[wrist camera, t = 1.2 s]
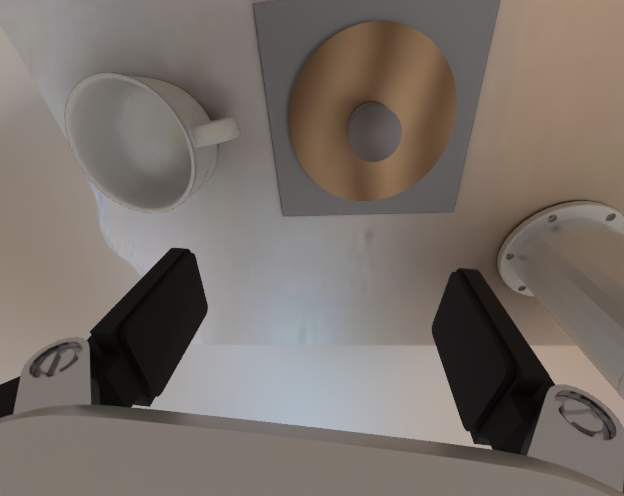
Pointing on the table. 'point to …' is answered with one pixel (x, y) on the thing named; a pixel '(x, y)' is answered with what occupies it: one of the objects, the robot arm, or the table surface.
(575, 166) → the table surface
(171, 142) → the teacup
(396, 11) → the mat
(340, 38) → the lid
